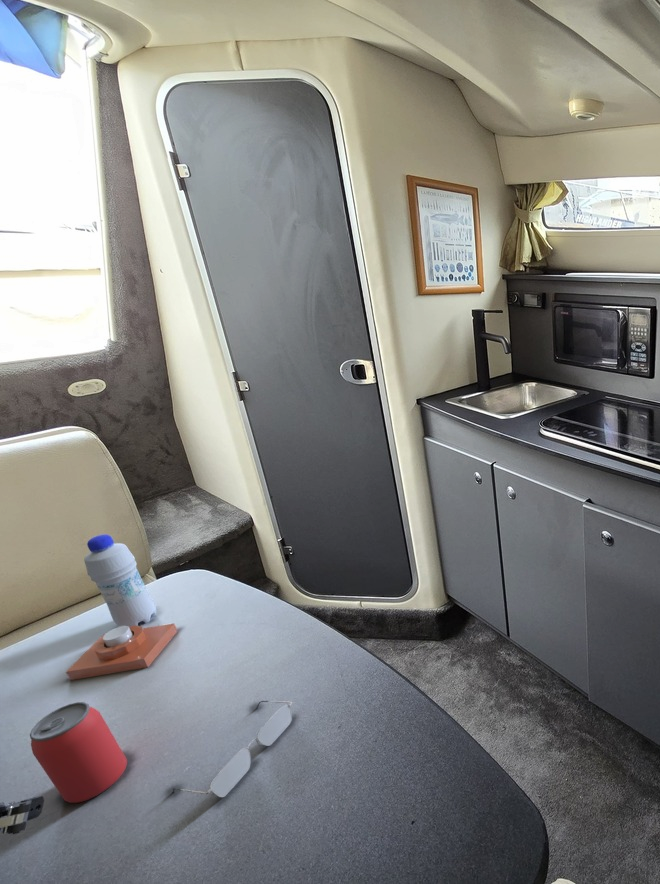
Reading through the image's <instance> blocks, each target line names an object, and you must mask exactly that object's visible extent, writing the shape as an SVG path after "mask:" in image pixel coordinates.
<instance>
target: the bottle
mask: <svg viewBox="0 0 660 884" xmlns="http://www.w3.org/2000/svg"><path fill="white" fill-rule="evenodd" d="M86 545H87V548H88V550H89V551H90V552H88V553H87V554H86V555H85V556H84V557H83V562H84V565H85V568H86V572H87V576H88V577H90V580H91V581H92V582H94V583H95V585H96V586H97V588H98V590H99V592H100V594H101V596H102V598H103V600H104V602H105V604H106V606H107V608H108V611H109V614H110V616H111V619H112V620H113V623H114V624H115V625H116V626H117V627H120V626H135V625H137V626H139V624H140V623H141V622H143V623H144V624H147V623H149V622H150V621H151V618H153V617H155V616H156V614H157V606H156V603H155V601H154V599H153V597H152V596H151V594H150V592H149V590H148V589H147V588H146V585H145V583H144V580H143V579H142V576H141V574H140V573H139V570H138V568H137V564H138V563H137V561H136V558H135V556H134V554H133V553H132V552H131V550H130V549H129V548H128V546H127V545H126V544H124V543H119V542H116V543H115V542H114V539H113V538H112V536H111V535H110V534H99V535H96V536H93V537H91V538H90V539H89V540H88V541H87V543H86Z"/></svg>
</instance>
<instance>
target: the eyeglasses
mask: <svg viewBox="0 0 660 884" xmlns="http://www.w3.org/2000/svg"><path fill="white" fill-rule="evenodd" d="M261 703H280V704H283V705H282V706H281V707H279V709H277V710H276V712H275V713H273V714H272V715H271V716H270V718H269V719H268V720H267V721H265V723H264V724H263V725H262V726H261V728H260V729H259V730H258V733H257V735H256V737H255V738H253V739H252V740H251V741H250V742H249V744H248V745H247V746H246V747H243V748H241V749H240V750H239V751H238V752H236V753H235V755H233V756H232V758H231V759H230V760H229V761H228V762H227V763H226V764H225V765H224V766H223V767H222V768H221V770H219V772H218V773H217V774H216V775H215V777H214V778H213V779H212V780H211V782H210V784H209V789H208V790H207V791H199V790H192V789H182V788H178V787H173V788H172V793H176V790H177V791H183V792H190V793H194V794H201V795H209V794H210V793H213V795H215V796H217V797H219V798H224V797H226V796H227V795H228V794H229V793H230V792H231V791H232V789H233V788H235V786H236V785H237V784H238V783H239V782H240V780H241V779H242V778H243V777H244V776H245V775H246V774H247V772H248V771H249V770H250V769H251V763H252V762H251V761H252V759H251V757H252V756H251V752H250V749H249V747H250V746H251V745H252V743H254V741H255V743H256V744H258V745H260V746H261V745H263V746H267V747H269V746H272V745H273V744H274V743H275V741H277V739H278V738H279V737H280V736H281V735H282V733H283V732H284V731H285V730H286V729H287V728H288V727H289V726H290V725H291V723H292V721H293V716H292V715H293V714H292V709H291V706H292V705H293V702H292V701H283V700H282V701H281V700H280V701H279V700H261V701H259V702H258V703H257V705H256V709H258V708H259V706H260V704H261Z"/></svg>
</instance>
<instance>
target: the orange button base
mask: <svg viewBox="0 0 660 884" xmlns="http://www.w3.org/2000/svg"><path fill="white" fill-rule="evenodd" d="M129 628H130V630H131V632H132V634H133V636H132V637H131V638H130V639H129V640H127V641H126V642H124V643H122V644H120V645H117V646H115V647H107V646H106V644H105V642H104V640H103V636H104V635H105V634H106V633H104V634H102V635H101V636H100V637H99V638H98V639H97V640H96V641H95V642H94V643H93V644H92V645H91V646H90V647H89V648H88V649H87V650H86V651H85V652H84V653H83V654H82V655H81V656H80V657H79V658H78V659H77V660H76V661H75V662H74V663H73V664H71V666H70V667H68V669H66V671H65V673H66V675H67V677H68V678H69V680H70V681H74V680H79V679H80V680H81V679H86V678H92V677H97V676H104V675H110V674H116V673H122V672H128V671H134V670H139V669H140V670H141V669H145V668H149V667H150V666H151V664H152V663H153V662H154V661H155V660H156V658H157V657H158V656H159V655H160V653H161V652H162V651H163V650H164V648H166V647H167V645H168V644H169V643H170V641H171V640H172V639H173V637H174V636H175V635H176V634H177V633H178V628H177V626H176V624H175V623H167V624H162V625H155V626H154V625H153V626H148V627H143V626H141V625H138V626H137V625H135V626H129Z"/></svg>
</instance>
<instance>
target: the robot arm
mask: <svg viewBox="0 0 660 884" xmlns="http://www.w3.org/2000/svg"><path fill="white" fill-rule="evenodd" d="M44 802H45V797H44V796H43V795H41V796H36V797H32V798H26V799H23V800H19V801H12V802H8V804H5V802H4V801H3V802H1V801H0V832H1V835H5V834H8V835H16V834H19V833H20V832H22V831H25V830H26V826H27V823H28V821H31V820H34V819H37V818H39V817H40V815H41V814H42V811H43V806H44Z"/></svg>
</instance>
